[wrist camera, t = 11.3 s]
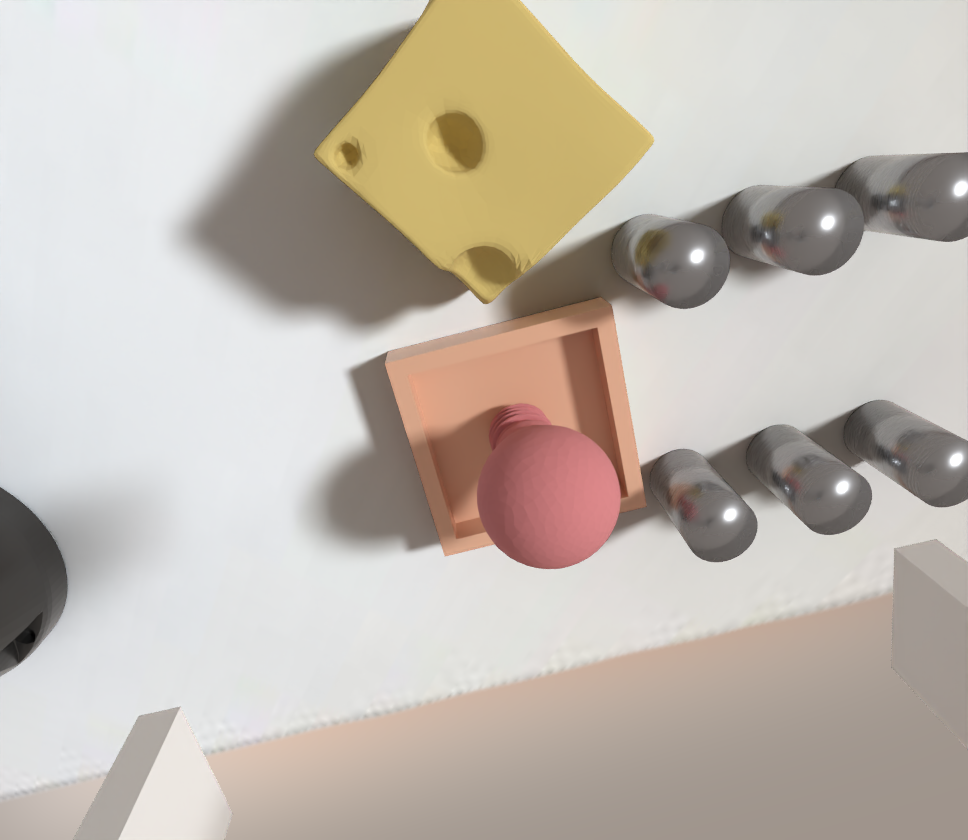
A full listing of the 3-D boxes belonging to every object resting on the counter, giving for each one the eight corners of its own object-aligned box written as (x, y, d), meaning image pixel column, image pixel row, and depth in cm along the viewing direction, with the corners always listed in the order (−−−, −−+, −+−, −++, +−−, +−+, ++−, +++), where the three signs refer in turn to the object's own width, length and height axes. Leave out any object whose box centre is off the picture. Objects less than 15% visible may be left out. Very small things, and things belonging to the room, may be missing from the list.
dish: (444, 535, 44) (445, 556, 41) (388, 351, 39) (384, 363, 37) (635, 487, 43) (646, 506, 41) (600, 296, 39) (611, 305, 36)
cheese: (478, 290, 38) (491, 329, 29) (331, 154, 35) (292, 148, 26) (607, 149, 36) (667, 141, 27) (462, -10, 33) (471, -82, 23)
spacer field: (654, 510, 44) (691, 569, 37) (605, 224, 37) (641, 235, 31) (904, 448, 44) (986, 497, 37) (901, 147, 37) (1002, 142, 30)
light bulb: (587, 459, 42) (652, 574, 31) (480, 491, 42) (507, 617, 31) (563, 358, 39) (625, 445, 28) (448, 392, 39) (466, 493, 28)
